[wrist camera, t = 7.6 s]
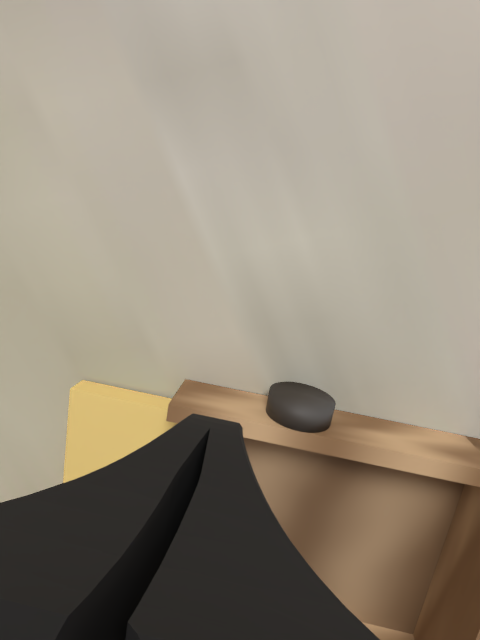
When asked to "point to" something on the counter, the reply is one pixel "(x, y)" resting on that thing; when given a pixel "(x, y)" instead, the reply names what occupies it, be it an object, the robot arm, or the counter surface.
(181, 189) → the counter surface
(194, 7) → the counter surface
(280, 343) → the counter surface
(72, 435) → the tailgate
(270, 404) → the brown wooden drawer
